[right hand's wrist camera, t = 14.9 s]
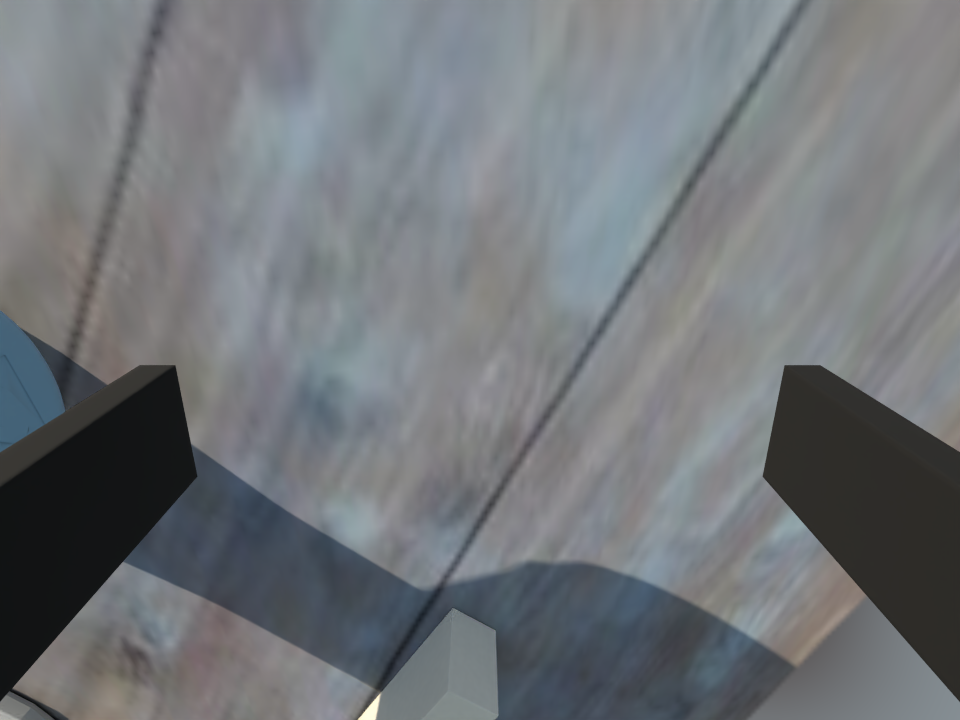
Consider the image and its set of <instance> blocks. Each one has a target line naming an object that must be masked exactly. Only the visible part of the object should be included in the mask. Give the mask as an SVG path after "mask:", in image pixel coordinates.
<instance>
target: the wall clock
mask: <svg viewBox="0 0 960 720" xmlns="http://www.w3.org/2000/svg"><path fill="white" fill-rule="evenodd" d="M0 720H54V719H53V718H52V717H50V716H49V715H48V714H47V713H45V712H44V711H43V710H41V709H40V708H39V707H37V706H36V705H35V704H33V703H31V702H29V701H27V700H25V699H24V698H22V697H20V696H18V695H16V694H14V693H12V692H10V691H9V692H8V693H7V695H6V696H5V697H4V698H3V699H2V700H1V701H0Z"/></svg>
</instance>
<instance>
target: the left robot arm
mask: <svg viewBox="0 0 960 720" xmlns="http://www.w3.org/2000/svg"><path fill="white" fill-rule="evenodd" d="M64 412H65V408H64V404H63V400H62V396H61V393H60V390H59V387H58V385H57V383H56V380H55V378H54V376H53V374H52V372H51V370H50V368H49V366H48V364H47V363H46V361H45V359H44V358H43V356H42V354H41V353H40V351H39V350H38V349H37V347H36V346H35V344H34V343H33V342H32V341H31V340H30V338H29V337H28V336H27V335H26V334H25V333H24V332H23V331H22V330H21V329H20V327H19V326H18V325H17V324H16V323H15V322H13V321H12V320H11V319H10V318H9V317H8V316H6V315H5V314H4V313H3V312H2V311H0V452H1V451H3V450H5V449H6V448H8V447H9V446H11V445H13V444H14V443H16V442H18V441H19V440H21V439H22V438H24V437H26V436H27V435H29V434H30V433H32V432H34V431H35V430H37V429H38V428H40V427H42V426H43V425H45V424H46V423H48V422H50V421H51V420H53V419H54V418H56V417H58V416H59V415H61V414H62V413H64Z"/></svg>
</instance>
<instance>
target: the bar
mask: <svg viewBox="0 0 960 720" xmlns="http://www.w3.org/2000/svg"><path fill="white" fill-rule="evenodd" d="M498 716H499V712H498V683H497V653H496V631H495V630H494V629H492V628H490V627H488V626H486V625H484V624H483V623H481V622H479V621H477V620H475V619H473V618H471V617H469V616H468V615H466V614H464V613H462V612H460V611H458V610H456V609H454V608H452V609H451V611H450V612H449V613H448V614H447V615H446V616H445V618H444V619H443V620H442V621H441V622H440V624H439V625H438V626H437V627H436V628H435V629H434V631H433V632H432V633H431V634H430V635H429V637H428V638H427V639H426V640H425V641H424V642H423V644H422V645H421V646H420V647H419V648H418V650H417V651H416V652H415V653H414V654H413V655H412V657H411V658H410V659H409V660H408V661H407V663H406V664H405V665H404V666H403V667H402V668H401V670H400V671H399V672H398V673H397V674H396V676H395V677H394V678H393V679H392V680H391V681H390V683H389V684H388V685H387V686H386V687H385V688H384V690H383V691H382V692H381V693H380V694H379V696H378V697H377V698H376V699H375V700H374V701H373V703H372V704H371V705H370V706H369V707H368V709H367V710H366V711H365V712H364V713H363V714H362V716H361V717H360V718H359V719H358V720H495V719H496V718H497V717H498Z"/></svg>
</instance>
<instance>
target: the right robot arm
mask: <svg viewBox="0 0 960 720" xmlns="http://www.w3.org/2000/svg"><path fill="white" fill-rule="evenodd" d="M196 477H197V473H196V468H195V463H194V458H193V452H192V447H191V442H190V437H189V432H188V427H187V422H186V417H185V412H184V407H183V402H182V397H181V392H180V387H179V382H178V376H177V371H176V366H175V365H140V366H138V367H136V368H135V369H133V370H131V371H130V372H128V373H127V374H125V375H123V376H122V377H120V378H119V379H117V380H115V381H114V382H112V383H111V384H109V385H107V386H106V387H104V388H103V389H101V390H99V391H98V392H96V393H95V394H93V395H91V396H90V397H88V398H87V399H85V400H83V401H82V402H80V403H79V404H77V405H75V406H74V407H72V408H70V409H69V410H67V411H66V412H64V413H62V414H61V415H59V416H58V417H56V418H54V419H53V420H51V421H50V422H48V423H46V424H45V425H43V426H42V427H40V428H38V429H37V430H35V431H34V432H32V433H30V434H29V435H27V436H26V437H24V438H22V439H21V440H19V441H18V442H16V443H14V444H13V445H11V446H9V447H8V448H6V449H5V450H3V451H1V452H0V701H1V700H2V699H3V698H4V697H5V696H6V695H7V693H8V692H9V691H10V690H11V689H12V688H13V687H14V685H15V684H16V683H17V682H18V681H19V680H20V679H21V677H22V676H23V675H24V674H25V673H26V672H27V671H28V669H29V668H30V667H31V666H32V665H33V664H34V663H35V661H36V660H37V659H38V658H39V657H40V656H41V655H42V653H43V652H44V651H45V650H46V649H47V648H48V647H49V645H50V644H51V643H52V642H53V641H54V640H55V639H56V637H57V636H58V635H59V634H60V633H61V632H62V631H63V629H64V628H65V627H66V626H67V625H68V624H69V623H70V621H71V620H72V619H73V618H74V617H75V616H76V615H77V613H78V612H79V611H80V610H81V609H82V608H83V607H84V605H85V604H86V603H87V602H88V601H89V600H90V599H91V597H92V596H93V595H94V594H95V593H96V592H97V591H98V589H99V588H100V587H101V586H102V585H103V584H104V583H105V581H106V580H107V579H108V578H109V577H110V576H111V575H112V573H113V572H114V571H115V570H116V569H117V568H118V567H119V565H120V564H121V563H122V562H123V561H124V560H125V559H126V557H127V556H128V555H129V554H130V553H131V552H132V551H133V549H134V548H135V547H136V546H137V545H138V544H139V543H140V541H141V540H142V539H143V538H144V537H145V536H146V535H147V533H148V532H149V531H150V530H151V529H152V528H153V527H154V525H155V524H156V523H157V522H158V521H159V520H160V519H161V517H162V516H163V515H164V514H165V513H166V512H167V511H168V509H169V508H170V507H171V506H172V505H173V504H174V503H175V501H176V500H177V499H178V498H179V497H180V496H181V495H182V493H183V492H184V491H185V490H186V489H187V488H188V487H189V485H190V484H191V483H192V482H193V481H194V480H195V479H196ZM763 477H764V479H765V480H766V481H767V482H768V483H769V484H770V485H771V487H772V488H773V489H774V490H775V491H776V492H777V493H778V495H779V496H780V497H781V498H782V499H783V500H784V501H785V503H786V504H787V505H788V506H789V507H790V508H791V509H792V511H793V512H794V513H795V514H796V515H797V516H798V517H799V519H800V520H801V521H802V522H803V523H804V524H805V525H806V527H807V528H808V529H809V530H810V531H811V532H812V533H813V535H814V536H815V537H816V538H817V539H818V540H819V541H820V543H821V544H822V545H823V546H824V547H825V548H826V549H827V551H828V552H829V553H830V554H831V555H832V556H833V557H834V559H835V560H836V561H837V562H838V563H839V564H840V565H841V567H842V568H843V569H844V570H845V571H846V572H847V573H848V575H849V576H850V577H851V578H852V579H853V580H854V581H855V583H856V584H857V585H858V586H859V587H860V588H861V589H862V591H863V592H864V593H865V594H866V595H867V596H868V597H869V599H870V600H871V601H872V602H873V603H874V604H875V605H876V607H877V608H878V609H879V610H880V611H881V612H882V613H883V615H884V616H885V617H886V618H887V619H888V620H889V621H890V623H891V624H892V625H893V626H894V627H895V628H896V629H897V631H898V632H899V633H900V634H901V635H902V636H903V637H904V639H905V640H906V641H907V642H908V643H909V644H910V645H911V647H912V648H913V649H914V650H915V651H916V652H917V653H918V655H919V656H920V657H921V658H922V659H923V660H924V661H925V663H926V664H927V665H928V666H929V667H930V668H931V669H932V671H933V672H934V673H935V674H936V675H937V676H938V677H939V679H940V680H941V681H942V682H943V683H944V684H945V685H946V687H947V688H948V689H949V690H950V691H951V692H952V693H953V695H954V696H955V697H956V698H957V699H958V700H959V701H960V452H959V451H957V450H955V449H954V448H952V447H951V446H949V445H947V444H946V443H944V442H942V441H941V440H939V439H938V438H936V437H934V436H933V435H931V434H930V433H928V432H926V431H925V430H923V429H922V428H920V427H918V426H917V425H915V424H914V423H912V422H910V421H909V420H907V419H906V418H904V417H902V416H901V415H899V414H898V413H896V412H894V411H893V410H891V409H890V408H888V407H886V406H885V405H883V404H881V403H880V402H878V401H877V400H875V399H873V398H872V397H870V396H869V395H867V394H865V393H864V392H862V391H861V390H859V389H857V388H856V387H854V386H853V385H851V384H849V383H848V382H846V381H845V380H843V379H841V378H840V377H838V376H837V375H835V374H833V373H832V372H830V371H829V370H827V369H825V368H824V367H822V366H820V365H785V366H784V371H783V376H782V382H781V387H780V392H779V397H778V402H777V407H776V412H775V417H774V422H773V427H772V432H771V437H770V442H769V447H768V452H767V457H766V463H765V468H764V473H763Z"/></svg>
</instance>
